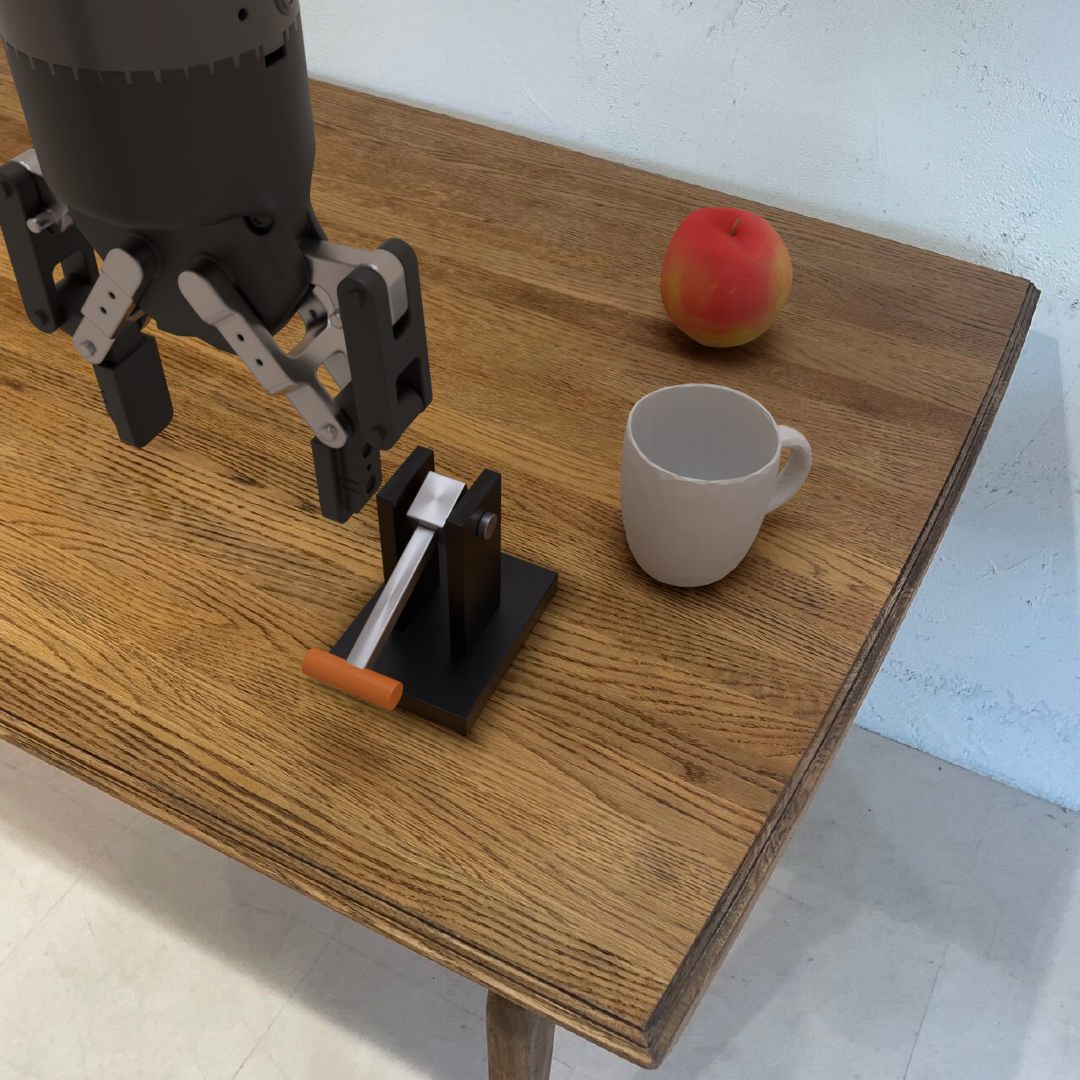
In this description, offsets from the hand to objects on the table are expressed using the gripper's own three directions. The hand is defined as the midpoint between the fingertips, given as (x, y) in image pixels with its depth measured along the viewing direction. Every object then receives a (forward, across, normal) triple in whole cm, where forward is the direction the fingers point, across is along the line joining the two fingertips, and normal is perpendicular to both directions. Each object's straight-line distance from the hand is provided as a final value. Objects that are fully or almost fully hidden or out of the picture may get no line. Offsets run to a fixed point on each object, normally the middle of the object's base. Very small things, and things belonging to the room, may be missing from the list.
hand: (246, 468), depth 41 cm
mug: (+24, +11, +28) cm, 39 cm away
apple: (+24, +4, +50) cm, 55 cm away
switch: (+17, 0, +10) cm, 20 cm away
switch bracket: (+24, 0, +14) cm, 28 cm away
